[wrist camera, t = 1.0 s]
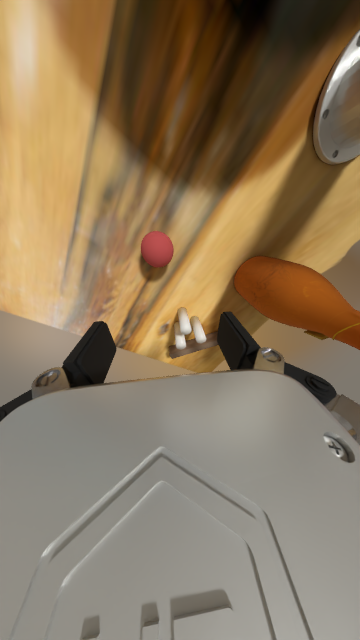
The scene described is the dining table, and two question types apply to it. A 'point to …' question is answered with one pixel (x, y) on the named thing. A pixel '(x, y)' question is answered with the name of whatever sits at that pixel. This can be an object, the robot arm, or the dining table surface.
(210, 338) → the brown wooden block
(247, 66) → the dining table surface
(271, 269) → the wine bottle
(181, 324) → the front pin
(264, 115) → the dining table surface
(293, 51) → the dining table surface
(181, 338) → the pin
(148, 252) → the ball
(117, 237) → the dining table surface
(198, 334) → the pin
